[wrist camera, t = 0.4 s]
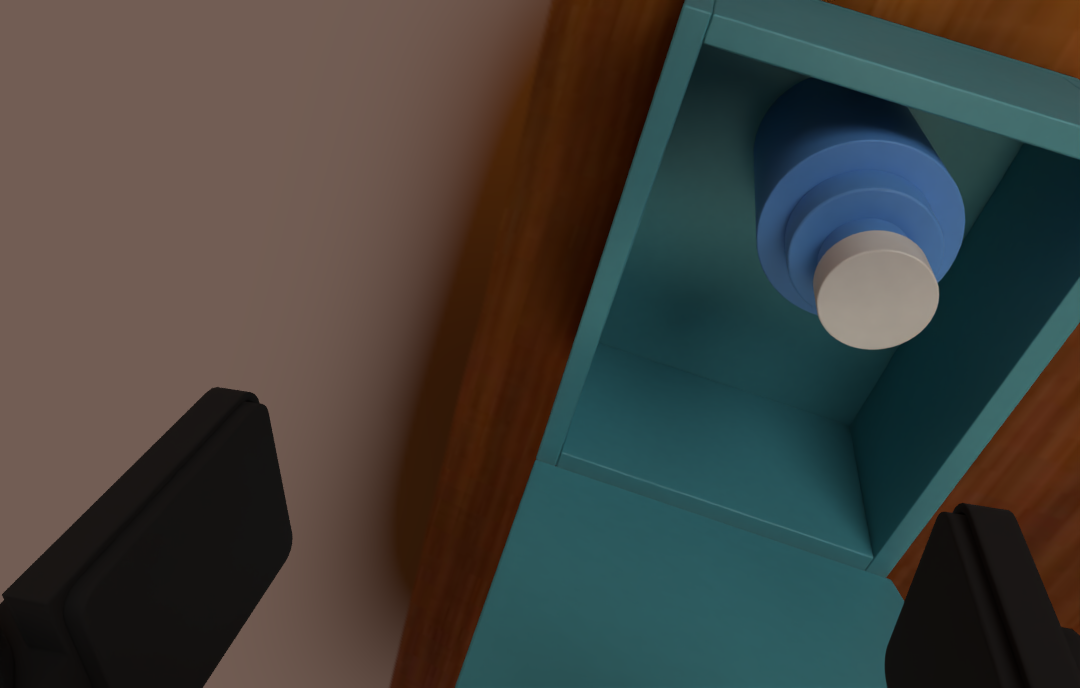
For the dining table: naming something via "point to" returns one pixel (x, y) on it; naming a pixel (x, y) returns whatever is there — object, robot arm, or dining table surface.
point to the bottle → (854, 213)
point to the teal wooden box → (797, 335)
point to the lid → (667, 601)
